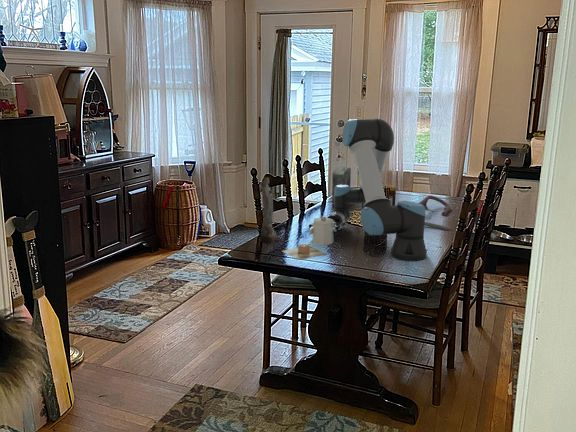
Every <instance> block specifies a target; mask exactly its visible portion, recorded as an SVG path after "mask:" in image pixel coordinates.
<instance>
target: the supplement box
mask: <svg viewBox="0 0 576 432" xmlns="http://www.w3.org/2000/svg"><path fill="white" fill-rule="evenodd" d="M382 184H383V186H386V187H389V188H390V201H391V205H392V206H396V197H397V196H396V193H397V187H395V186H393V185H390V184H387V183H382ZM364 204H365V203H361V210H362V209H363V205H364Z"/></svg>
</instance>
